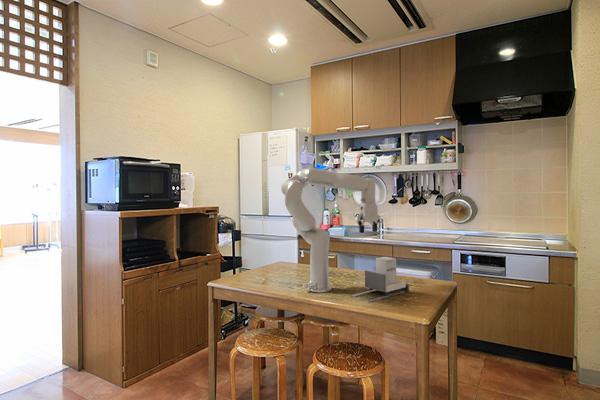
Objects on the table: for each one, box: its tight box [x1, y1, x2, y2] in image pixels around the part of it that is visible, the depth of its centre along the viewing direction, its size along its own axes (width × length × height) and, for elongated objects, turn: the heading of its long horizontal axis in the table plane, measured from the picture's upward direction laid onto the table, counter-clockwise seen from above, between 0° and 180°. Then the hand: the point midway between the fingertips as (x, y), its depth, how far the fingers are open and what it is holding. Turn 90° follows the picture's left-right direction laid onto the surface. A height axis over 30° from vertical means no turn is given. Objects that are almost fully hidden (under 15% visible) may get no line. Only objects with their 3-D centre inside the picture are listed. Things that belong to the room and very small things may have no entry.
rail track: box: [350, 283, 410, 303], centre depth 174 cm, size 28×14×4 cm, turn 127°
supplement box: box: [375, 256, 397, 285], centre depth 177 cm, size 7×7×13 cm
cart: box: [364, 270, 407, 295], centre depth 176 cm, size 15×14×10 cm
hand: (368, 232), depth 192 cm, fingers open, 9 cm apart
